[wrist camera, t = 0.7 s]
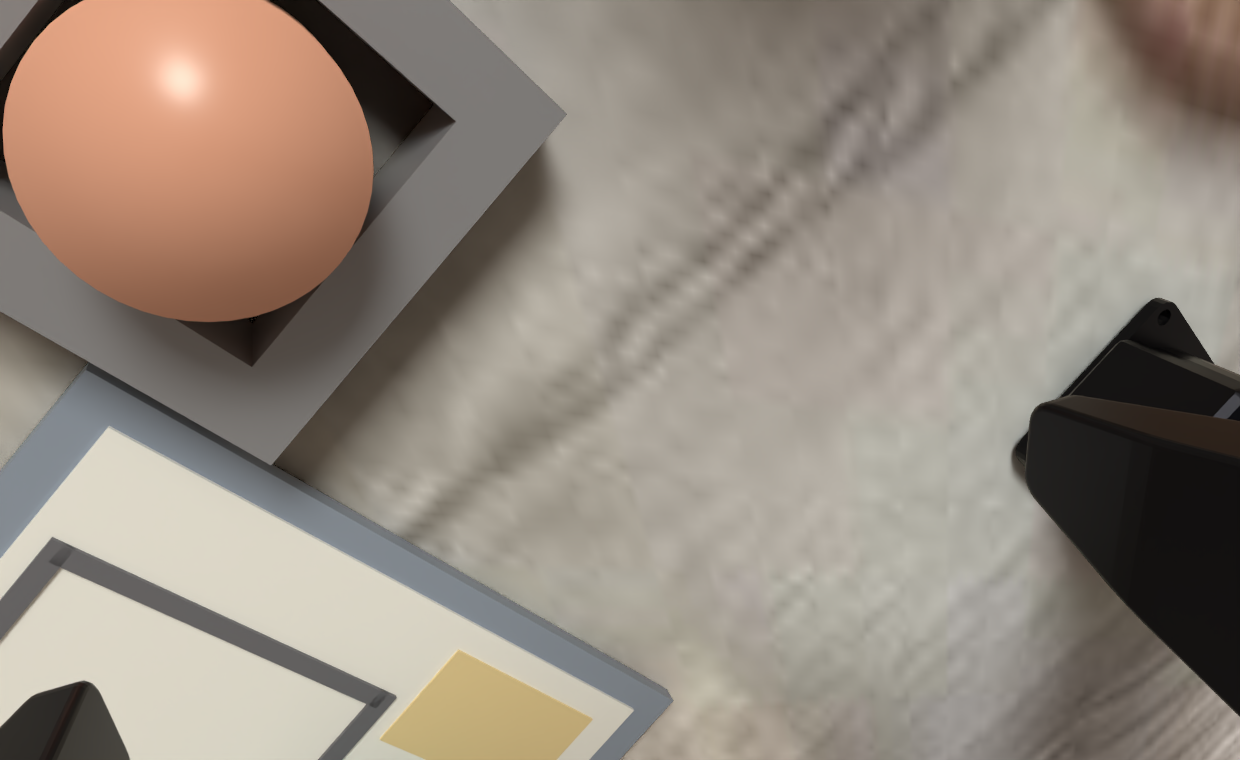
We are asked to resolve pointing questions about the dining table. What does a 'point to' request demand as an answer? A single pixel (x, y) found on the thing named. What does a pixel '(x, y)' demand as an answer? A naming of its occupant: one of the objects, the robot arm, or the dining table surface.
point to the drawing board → (268, 610)
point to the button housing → (358, 287)
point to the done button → (188, 154)
